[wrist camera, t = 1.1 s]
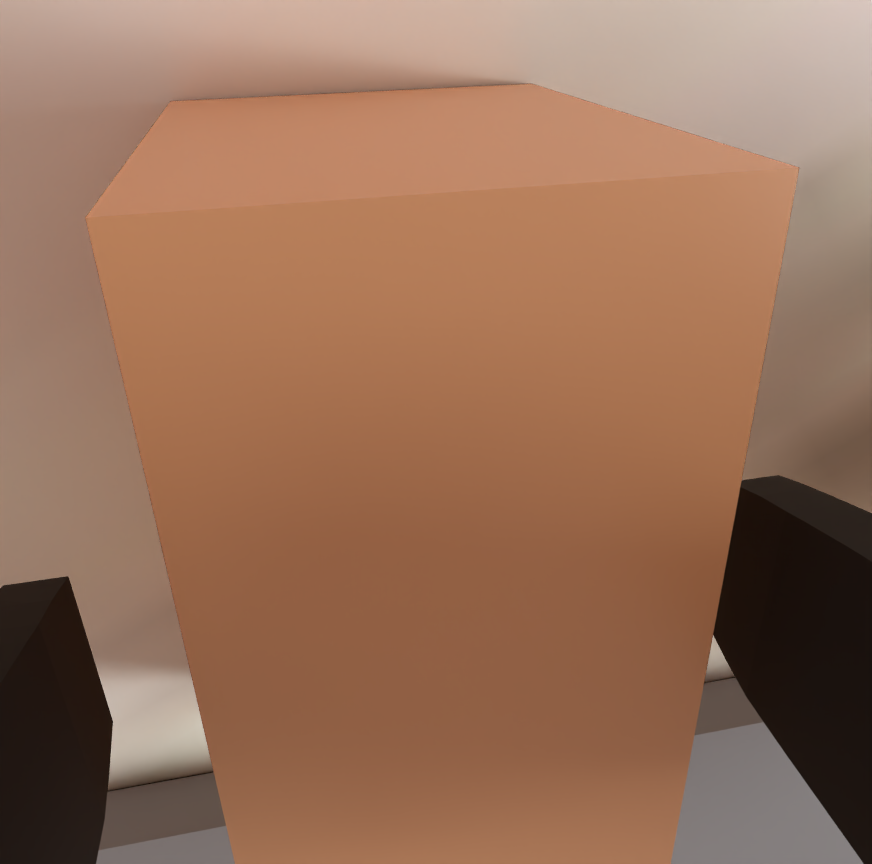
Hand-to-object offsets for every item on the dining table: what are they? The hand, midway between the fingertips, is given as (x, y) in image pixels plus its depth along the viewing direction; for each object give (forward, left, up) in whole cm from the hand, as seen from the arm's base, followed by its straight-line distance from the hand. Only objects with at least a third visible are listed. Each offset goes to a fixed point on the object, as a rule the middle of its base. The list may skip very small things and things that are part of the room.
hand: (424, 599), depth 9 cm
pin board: (-2, +15, -4) cm, 16 cm away
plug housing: (0, 0, -4) cm, 4 cm away
